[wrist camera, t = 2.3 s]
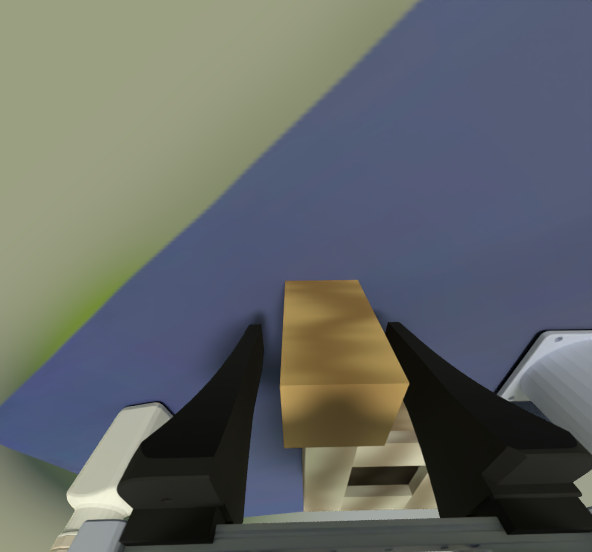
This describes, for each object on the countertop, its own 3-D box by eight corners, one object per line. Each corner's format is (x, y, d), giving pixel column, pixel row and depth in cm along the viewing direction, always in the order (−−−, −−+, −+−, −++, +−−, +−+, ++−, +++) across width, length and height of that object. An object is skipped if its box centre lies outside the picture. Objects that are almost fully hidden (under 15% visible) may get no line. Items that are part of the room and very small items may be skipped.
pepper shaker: (183, 422, 21) (114, 592, 13) (145, 427, 22) (56, 597, 14) (161, 398, 19) (65, 581, 11) (120, 404, 20) (-1, 586, 12)
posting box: (463, 389, 19) (500, 441, 16) (419, 461, 26) (439, 508, 23) (303, 391, 19) (305, 445, 16) (302, 463, 26) (303, 511, 23)
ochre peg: (357, 280, 14) (409, 383, 8) (349, 333, 16) (384, 445, 10) (285, 281, 14) (280, 385, 8) (287, 334, 16) (284, 448, 10)
